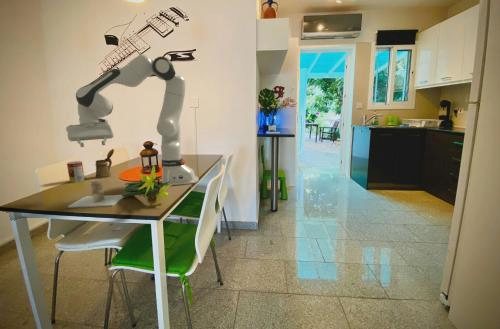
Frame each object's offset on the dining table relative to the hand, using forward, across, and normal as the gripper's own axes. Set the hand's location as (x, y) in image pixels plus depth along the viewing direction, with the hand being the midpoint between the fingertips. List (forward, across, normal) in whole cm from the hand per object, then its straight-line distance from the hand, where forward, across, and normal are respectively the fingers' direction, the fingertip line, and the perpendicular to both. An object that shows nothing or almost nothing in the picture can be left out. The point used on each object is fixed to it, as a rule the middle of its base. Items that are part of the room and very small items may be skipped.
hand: (93, 145), depth 127 cm
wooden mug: (-7, +4, +49) cm, 50 cm away
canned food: (-5, -12, +46) cm, 48 cm away
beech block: (+29, -1, +5) cm, 29 cm away
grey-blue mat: (+29, -1, +5) cm, 30 cm away
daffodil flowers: (+38, +16, -5) cm, 42 cm away
